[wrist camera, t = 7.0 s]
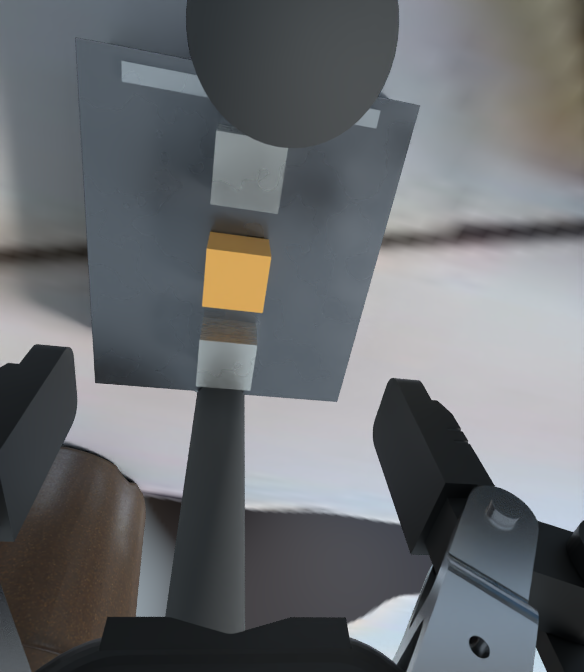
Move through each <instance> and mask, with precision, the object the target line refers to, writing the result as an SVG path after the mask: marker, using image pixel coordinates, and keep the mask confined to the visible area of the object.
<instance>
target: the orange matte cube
mask: <svg viewBox="0 0 584 672" xmlns="http://www.w3.org/2000/svg"><path fill="white" fill-rule="evenodd" d="M270 263H271V251H270V244H269V239H261V238H254V237H247V236H239V235H232V234H225V233H217V232H210V235H209V240H208V244H207V250H206V263H205V276H204V288H203V301H202V307H210V308H220V309H229V310H238V311H247V312H256V313H263V308H264V301H265V295H266V288H267V282H268V276H269V269H270Z"/></svg>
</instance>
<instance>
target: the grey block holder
mask: <svg viewBox="0 0 584 672" xmlns="http://www.w3.org/2000/svg"><path fill="white" fill-rule="evenodd" d="M75 42H76V59H77V76H78V94H79V111H80V128H81V145H82V163H83V180H84V197H85V214H86V232H87V249H88V266H89V283H90V301H91V318H92V335H93V352H94V370H95V383H103V384H115V385H128V386H141V387H154V388H167V389H179V390H192V391H200V390H201V389H202V388H203V387H210V388H223V389H235V390H241V391H242V393H243V394H244V395H256V396H269V397H282V398H295V399H308V400H320V401H333V402H337V400H338V397H339V393H340V389H341V386H342V382H343V379H344V375H345V372H346V368H347V364H348V361H349V357H350V354H351V350H352V347H353V343H354V339H355V336H356V332H357V329H358V325H359V322H360V318H361V314H362V311H363V307H364V304H365V300H366V296H367V293H368V289H369V286H370V282H371V279H372V275H373V271H374V268H375V264H376V261H377V257H378V254H379V250H380V246H381V243H382V239H383V236H384V232H385V229H386V225H387V221H388V218H389V214H390V211H391V207H392V204H393V200H394V196H395V193H396V189H397V186H398V182H399V179H400V175H401V171H402V168H403V164H404V161H405V157H406V154H407V150H408V146H409V143H410V139H411V136H412V132H413V129H414V125H415V121H416V118H417V114H418V111H419V107H420V105H415V104H411V103H406V102H401V101H396V100H392V99H387V98H382V97H377V99H376V100H375V102H374V103H373V104H372V106H371V107H370V109H369V110H368V111H367V112H366V113H365V114H364V115H363V117H362V118H361V119H360V120H359V121H358V122H356V123H355V124H354V125H353V126H352V127H351V128H350V129H348V130H347V131H345V132H344V133H342V134H341V135H339V136H337V137H335V138H333V139H331V140H329V141H327V142H324V143H321V144H318V145H315V146H310V147H305V148H282V147H276V146H271V145H267V144H264V143H262V142H259V141H257V140H254V139H252V138H251V137H249V136H247V135H245V134H243V133H242V132H241V131H239V130H238V129H237V128H235V127H234V126H233V125H231V124H230V123H229V122H228V121H227V120H226V119H225V118H224V117H223V116H222V115H221V114H220V112H219V111H218V110H217V109H216V108H215V106H214V105H213V104H212V102H211V101H210V99H209V98H208V96H207V94H206V93H205V91H204V89H203V87H202V85H201V83H200V81H199V79H198V77H197V74H196V71H195V68H194V65H193V62H192V60H189V59H184V58H179V57H174V56H169V55H164V54H159V53H154V52H149V51H144V50H139V49H134V48H129V47H124V46H119V45H113V44H108V43H103V42H97V41H92V40H86V39H81V38H75ZM210 232H217V233H225V234H232V235H239V236H247V237H254V238H261V239H269V244H270V251H271V263H270V269H269V276H268V282H267V288H266V295H265V301H264V308H263V313H256V312H247V311H238V310H229V309H220V308H210V307H202V301H203V288H204V276H205V263H206V250H207V244H208V240H209V235H210Z"/></svg>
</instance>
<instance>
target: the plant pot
mask: <svg viewBox="0 0 584 672" xmlns="http://www.w3.org/2000/svg"><path fill="white" fill-rule="evenodd" d="M145 517H146V511H145V501H144V497H143V494H142V493H141V491H140V489H139V487H138V485H137V484H136V483H133V482H132V483H130V482H128V481H127V480H126V479H125V477H124V476H123V475H122V474H121V473H120V471H119V470H118V468H117V466H116V465H114V464H113V463H111V462H109V461H108V460H105V459H103V458H101V457H98V456H96V455H94V454H91V453H88V452H84V451H81V450H77V449H73V448H68V447H62V446H61V448H60V450H59V452H58V454H57V456H56V458H55V460H54V462H53V464H52V466H51V468H50V470H49V472H48V474H47V476H46V478H45V481H44V483H43V485H42V487H41V489H40V491H39V493H38V495H37V497H36V499H35V501H34V503H33V505H32V507H31V509H30V511H29V513H28V515H27V517H26V519H25V521H24V523H23V525H22V527H21V529H20V531H19V533H18V535H17V537H16V539H15V541H14V542H2V541H0V584H1V587H2V589H3V592H4V595H5V598H6V601H7V603H8V606H9V609H10V612H11V615H12V618H13V620H14V623H15V626H16V629H17V632H18V635H19V637H20V640H21V643H22V646H23V649H24V652H25V654H26V657H27V660H28V663H29V666H30V668H31V671H32V672H35V671H36V670H38V669H39V668H40V667H41V666H43V665H44V664H46V663H47V662H49V661H51V660H52V659H54V658H55V657H57V656H58V655H60V654H62V653H64V652H66V651H68V650H70V649H71V648H73V647H76V646H78V645H81V644H83V643H86V642H88V641H91V640H94V639H97V638H101V637H102V635H103V631H104V627H105V624H106V620H107V617H136V607H137V596H138V585H139V576H140V566H141V555H142V545H143V534H144V527H145V519H146V518H145Z"/></svg>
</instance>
